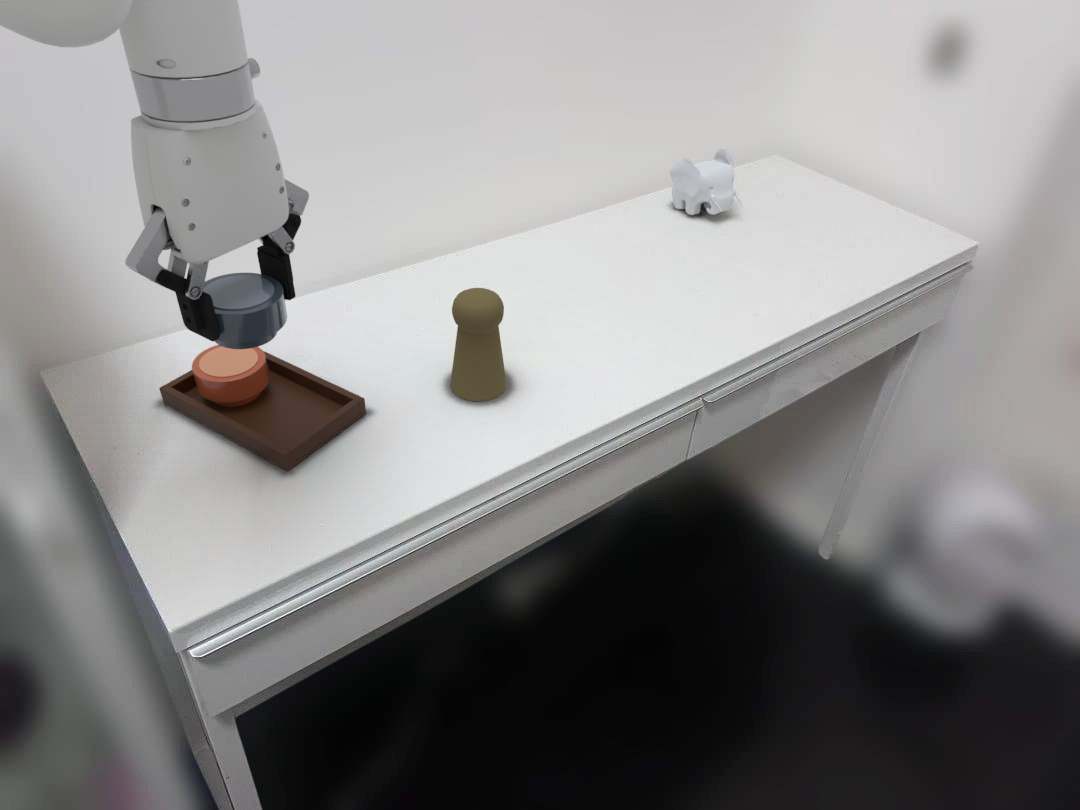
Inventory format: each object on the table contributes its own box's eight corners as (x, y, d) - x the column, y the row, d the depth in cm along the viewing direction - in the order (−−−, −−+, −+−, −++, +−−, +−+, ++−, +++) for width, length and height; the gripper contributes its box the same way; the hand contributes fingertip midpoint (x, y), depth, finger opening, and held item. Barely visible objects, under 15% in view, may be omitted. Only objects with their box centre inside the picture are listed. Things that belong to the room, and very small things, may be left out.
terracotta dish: (232, 421, 79) (224, 389, 77) (185, 396, 82) (176, 364, 79) (286, 387, 84) (280, 356, 81) (239, 364, 87) (232, 333, 84)
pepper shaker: (493, 363, 90) (493, 275, 83) (515, 393, 85) (518, 303, 79) (441, 375, 87) (438, 286, 81) (462, 407, 83) (460, 315, 76)
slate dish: (241, 365, 63) (233, 323, 61) (182, 336, 66) (172, 294, 64) (306, 329, 68) (301, 288, 66) (249, 303, 71) (242, 263, 69)
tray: (287, 471, 74) (284, 455, 73) (163, 403, 82) (158, 387, 80) (366, 413, 82) (364, 398, 80) (246, 356, 89) (242, 340, 88)
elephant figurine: (707, 232, 119) (717, 174, 113) (651, 203, 126) (659, 147, 121) (751, 218, 123) (763, 161, 118) (695, 190, 131) (704, 136, 125)
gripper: (257, 55, 63) (291, 261, 74) (41, 111, 51) (120, 345, 62) (327, 74, 60) (352, 285, 70) (115, 137, 48) (184, 380, 59)
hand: (243, 312), depth 66 cm, fingers closed on slate dish, 7 cm apart
